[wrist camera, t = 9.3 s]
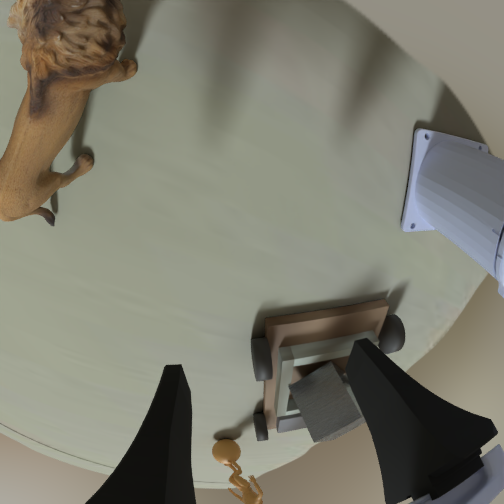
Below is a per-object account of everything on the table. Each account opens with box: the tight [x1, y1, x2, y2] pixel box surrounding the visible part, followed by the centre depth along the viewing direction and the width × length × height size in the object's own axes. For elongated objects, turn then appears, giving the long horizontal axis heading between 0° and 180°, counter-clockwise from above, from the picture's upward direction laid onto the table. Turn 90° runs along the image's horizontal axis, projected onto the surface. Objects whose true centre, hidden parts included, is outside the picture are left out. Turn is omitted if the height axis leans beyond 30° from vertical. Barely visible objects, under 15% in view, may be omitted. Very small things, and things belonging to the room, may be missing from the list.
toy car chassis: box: [251, 299, 405, 441], centre depth 26 cm, size 13×20×4 cm
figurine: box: [212, 439, 263, 504], centre depth 29 cm, size 8×6×12 cm
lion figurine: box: [0, 0, 137, 226], centre depth 9 cm, size 15×5×9 cm, turn 155°
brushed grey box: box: [288, 361, 366, 442], centre depth 23 cm, size 4×6×6 cm
